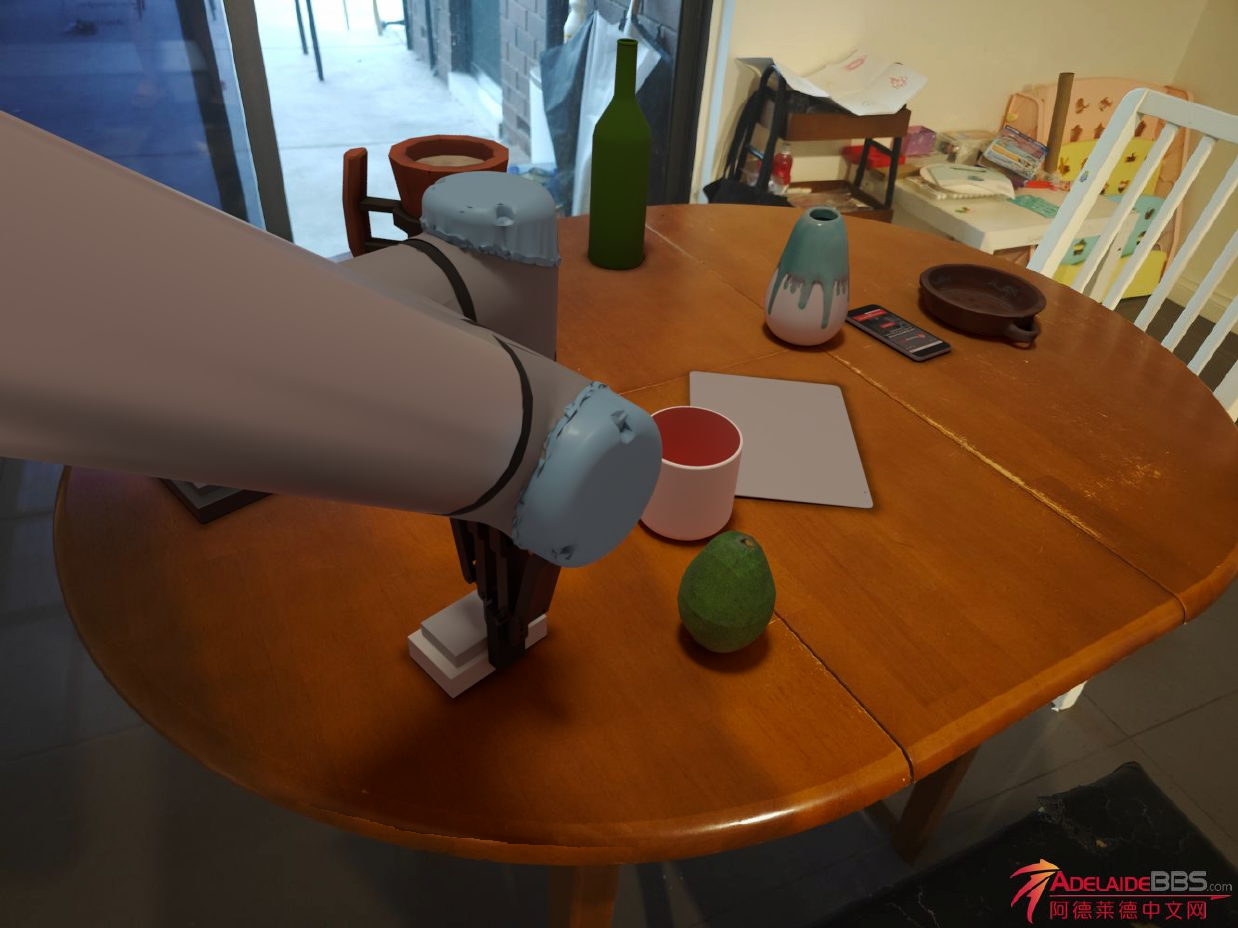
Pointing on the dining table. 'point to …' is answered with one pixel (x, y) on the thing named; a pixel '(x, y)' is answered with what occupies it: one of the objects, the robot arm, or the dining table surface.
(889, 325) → the smartphone
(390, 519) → the dining table surface
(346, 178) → the tankard
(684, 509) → the cup
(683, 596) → the fruit
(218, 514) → the dark grey stepped slab
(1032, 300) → the dish
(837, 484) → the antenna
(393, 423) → the robot arm
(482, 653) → the stepped grey block
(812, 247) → the vase
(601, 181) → the wine bottle
